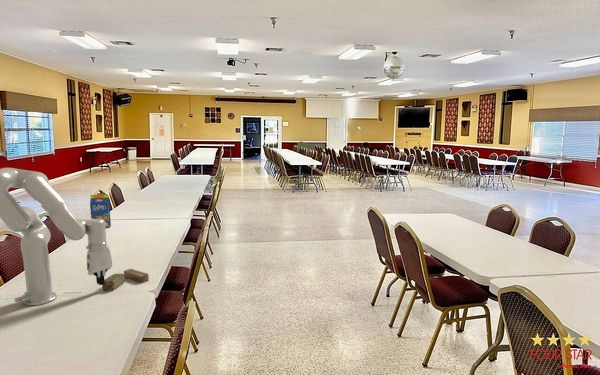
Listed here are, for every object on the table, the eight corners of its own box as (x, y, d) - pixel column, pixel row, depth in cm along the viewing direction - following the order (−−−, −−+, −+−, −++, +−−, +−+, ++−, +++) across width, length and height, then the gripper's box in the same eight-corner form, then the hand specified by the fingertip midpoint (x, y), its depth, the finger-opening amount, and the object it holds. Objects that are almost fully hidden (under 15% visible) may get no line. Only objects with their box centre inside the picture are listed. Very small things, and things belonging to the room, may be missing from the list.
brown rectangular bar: (141, 283, 206) (141, 276, 205) (124, 277, 213) (123, 270, 213) (148, 280, 209) (148, 273, 208) (131, 275, 216) (130, 268, 216)
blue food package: (93, 226, 315) (91, 194, 311) (110, 226, 318) (108, 193, 314) (91, 228, 309) (89, 195, 305) (109, 228, 312) (107, 194, 308)
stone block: (125, 282, 207) (124, 272, 206) (113, 292, 195) (112, 281, 195) (114, 282, 207) (113, 272, 206) (101, 291, 196) (100, 281, 195)
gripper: (86, 251, 183) (89, 291, 186) (117, 243, 196) (120, 280, 199) (77, 248, 187) (80, 287, 190) (108, 240, 200) (110, 277, 203)
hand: (100, 284), depth 195 cm, fingers closed
